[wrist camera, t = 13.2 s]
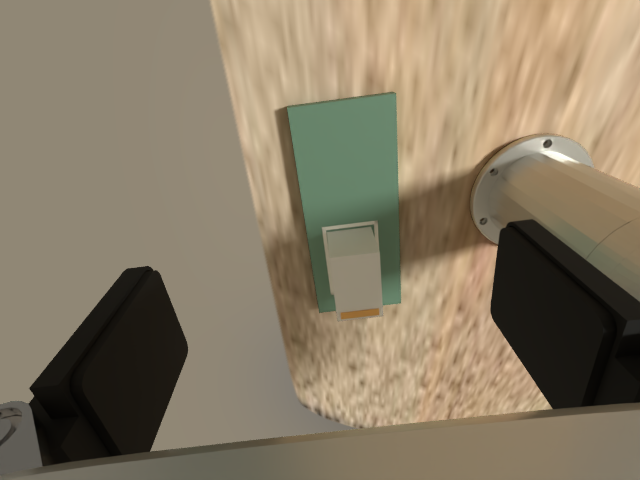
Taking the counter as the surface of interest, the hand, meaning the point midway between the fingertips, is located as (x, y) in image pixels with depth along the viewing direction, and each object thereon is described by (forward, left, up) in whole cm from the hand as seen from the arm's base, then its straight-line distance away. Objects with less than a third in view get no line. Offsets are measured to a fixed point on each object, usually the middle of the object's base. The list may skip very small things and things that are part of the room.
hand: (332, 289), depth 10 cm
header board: (-8, +7, -28) cm, 30 cm away
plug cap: (-11, +12, -27) cm, 31 cm away
